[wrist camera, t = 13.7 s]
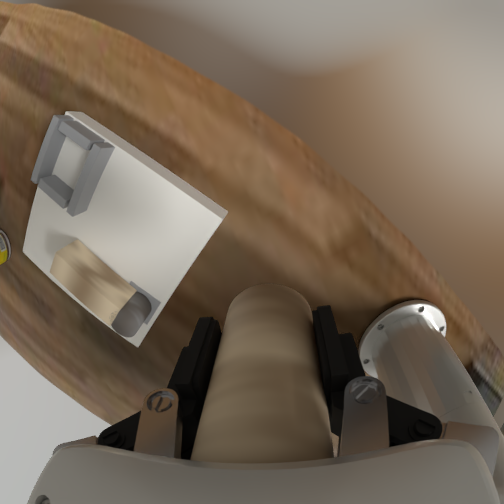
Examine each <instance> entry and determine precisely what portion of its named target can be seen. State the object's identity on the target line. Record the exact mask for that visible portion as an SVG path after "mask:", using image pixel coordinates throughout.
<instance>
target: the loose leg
mask: <svg viewBox="0 0 504 504" xmlns="http://www.w3.org/2000/svg"><path fill="white" fill-rule="evenodd" d="M327 458H334V453H333V445H332V437H331V429H330V422H329V414H328V407H327V400H326V397H325V394H324V389H323V382H322V376H321V369H320V363H319V357H318V351H317V345H316V339H315V333H314V328H313V317H312V312H311V309H310V306H309V304H308V302H307V301H306V299H305V298H304V297H303V296H302V295H301V294H299V293H298V292H297V291H295V290H293V289H292V288H289V287H287V286H284V285H279V284H260V285H255V286H252V287H250V288H247V289H246V290H244V291H242V292H241V293H240V294H238V295H237V296H236V297H235V298H234V300H233V301H232V302H231V304H230V306H229V309H228V313H227V316H226V320H225V324H224V328H223V332H222V336H221V340H220V343H219V347H218V351H217V355H216V359H215V363H214V367H213V371H212V375H211V379H210V383H209V386H208V390H207V394H206V398H205V402H204V406H203V410H202V414H201V418H200V422H199V426H198V430H197V434H196V438H195V442H194V446H193V450H192V454H191V459H190V460H193V461H205V462H219V463H284V462H299V461H310V460H319V459H327Z"/></svg>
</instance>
